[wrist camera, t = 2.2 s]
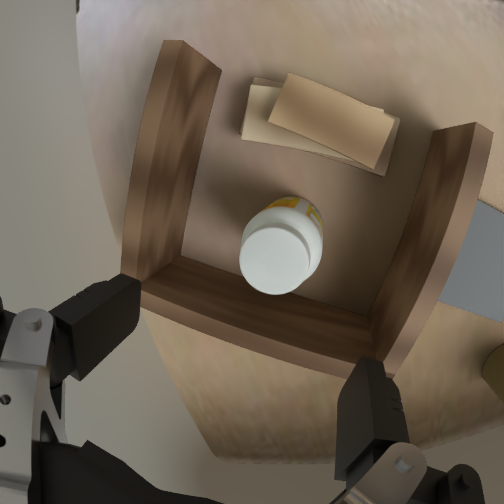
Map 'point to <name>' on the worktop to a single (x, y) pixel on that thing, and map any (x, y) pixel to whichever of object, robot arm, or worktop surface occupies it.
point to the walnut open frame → (288, 305)
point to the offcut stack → (319, 122)
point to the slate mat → (479, 267)
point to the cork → (495, 372)
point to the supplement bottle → (282, 245)
